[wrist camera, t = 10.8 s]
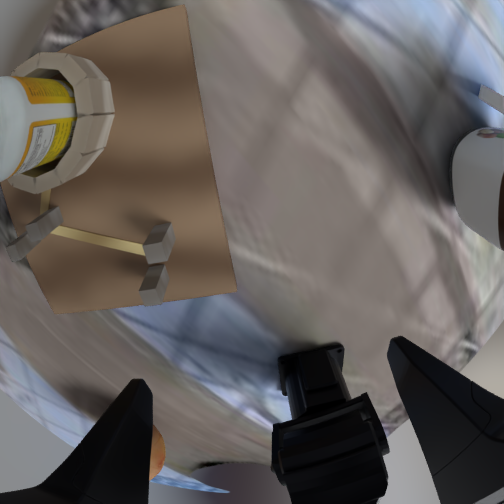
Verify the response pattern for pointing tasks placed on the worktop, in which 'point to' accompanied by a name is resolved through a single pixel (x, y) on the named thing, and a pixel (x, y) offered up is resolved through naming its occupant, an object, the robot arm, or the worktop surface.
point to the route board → (125, 176)
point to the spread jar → (481, 176)
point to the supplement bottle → (34, 122)
